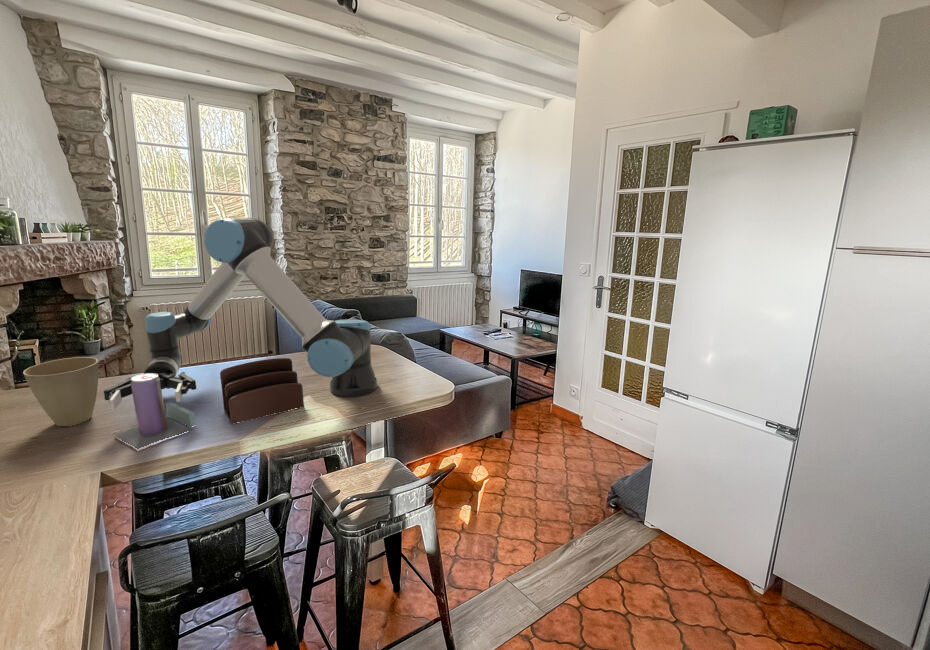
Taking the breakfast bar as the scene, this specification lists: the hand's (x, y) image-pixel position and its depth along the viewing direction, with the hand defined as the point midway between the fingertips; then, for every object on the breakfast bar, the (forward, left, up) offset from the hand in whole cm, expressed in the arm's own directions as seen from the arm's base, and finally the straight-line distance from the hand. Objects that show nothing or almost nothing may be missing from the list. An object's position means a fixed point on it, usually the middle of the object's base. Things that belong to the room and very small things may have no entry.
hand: (145, 400), depth 112 cm
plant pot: (+27, +7, -10) cm, 30 cm away
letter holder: (-9, -26, -10) cm, 30 cm away
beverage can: (+1, -1, -9) cm, 10 cm away
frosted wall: (+3, -9, -10) cm, 14 cm away
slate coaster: (+1, -1, -10) cm, 10 cm away
